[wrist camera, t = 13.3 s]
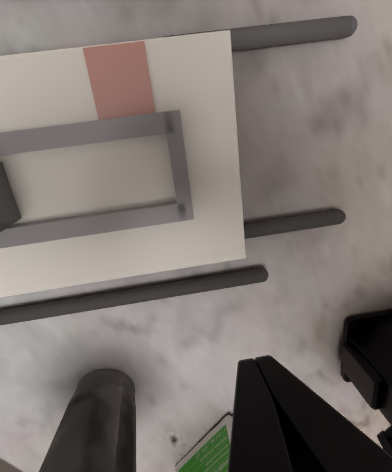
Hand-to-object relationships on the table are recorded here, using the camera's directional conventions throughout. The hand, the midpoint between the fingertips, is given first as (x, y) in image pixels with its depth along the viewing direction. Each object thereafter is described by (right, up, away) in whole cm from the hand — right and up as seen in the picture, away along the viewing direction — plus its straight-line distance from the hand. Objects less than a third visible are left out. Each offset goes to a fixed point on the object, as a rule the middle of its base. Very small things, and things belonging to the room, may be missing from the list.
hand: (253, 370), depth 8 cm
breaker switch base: (-9, +7, +10) cm, 15 cm away
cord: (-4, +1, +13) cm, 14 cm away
